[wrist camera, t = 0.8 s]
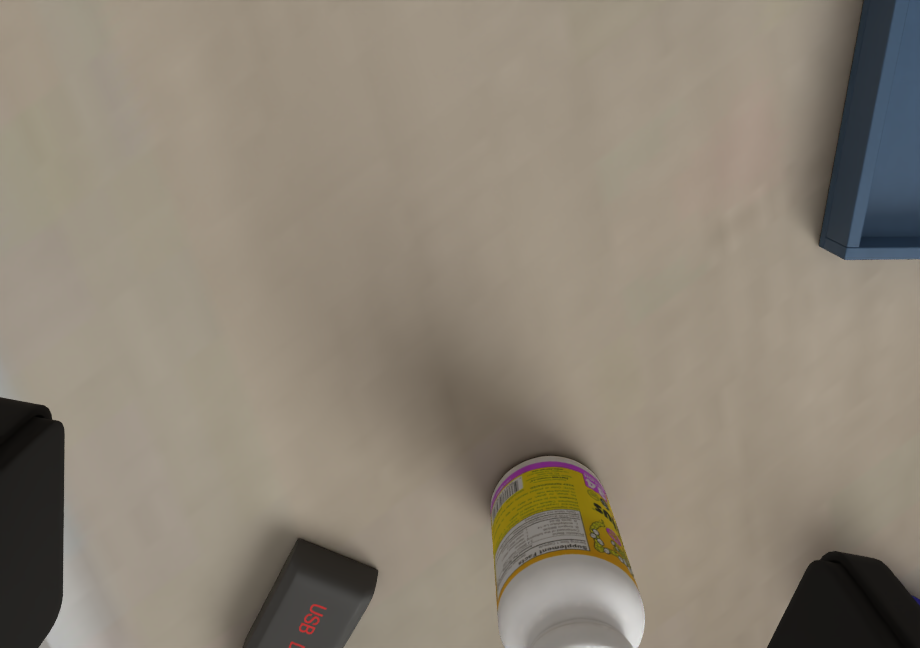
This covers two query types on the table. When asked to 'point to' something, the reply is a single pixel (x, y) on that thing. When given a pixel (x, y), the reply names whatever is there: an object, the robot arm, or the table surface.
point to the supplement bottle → (561, 561)
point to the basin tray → (879, 141)
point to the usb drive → (313, 601)
